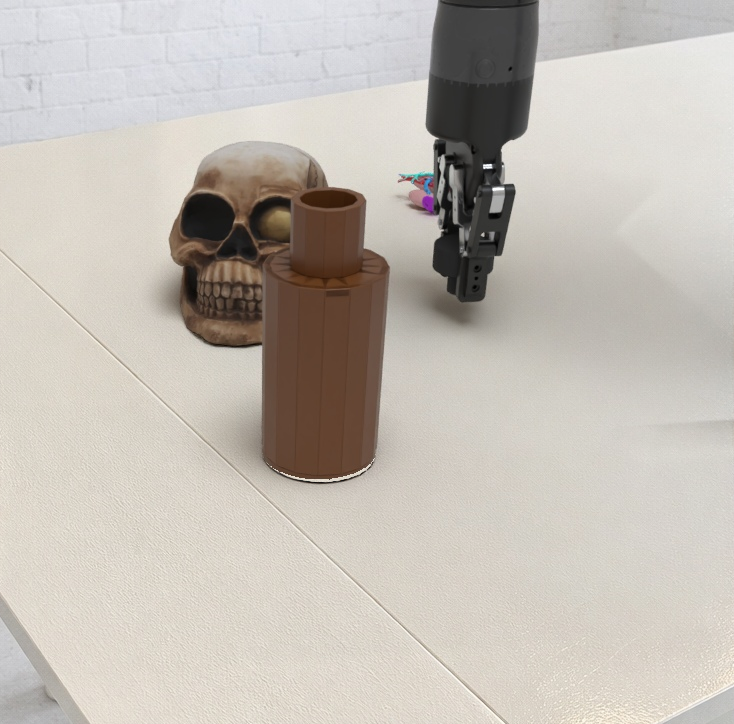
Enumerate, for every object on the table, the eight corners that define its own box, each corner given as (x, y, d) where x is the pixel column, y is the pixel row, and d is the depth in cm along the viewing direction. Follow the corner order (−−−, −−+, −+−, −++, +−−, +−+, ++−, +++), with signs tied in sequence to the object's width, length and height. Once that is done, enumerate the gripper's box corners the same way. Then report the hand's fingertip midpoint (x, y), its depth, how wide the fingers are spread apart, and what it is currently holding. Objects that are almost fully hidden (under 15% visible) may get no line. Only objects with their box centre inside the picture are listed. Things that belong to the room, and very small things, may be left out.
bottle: (362, 422, 77) (378, 175, 68) (386, 479, 71) (407, 217, 62) (255, 429, 77) (256, 181, 67) (270, 487, 71) (273, 223, 61)
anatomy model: (382, 162, 112) (446, 163, 108) (416, 143, 117) (478, 144, 114) (384, 213, 114) (447, 217, 111) (418, 193, 120) (479, 195, 116)
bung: (480, 278, 94) (485, 231, 91) (498, 300, 90) (503, 252, 87) (423, 281, 93) (427, 235, 91) (438, 304, 89) (443, 256, 87)
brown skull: (215, 352, 86) (209, 173, 80) (133, 296, 100) (123, 139, 94) (389, 321, 92) (396, 151, 86) (289, 272, 106) (289, 123, 100)
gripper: (566, 87, 76) (534, 320, 86) (501, 44, 88) (479, 253, 98) (458, 92, 76) (437, 326, 85) (407, 48, 88) (394, 258, 97)
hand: (460, 286), depth 91 cm, fingers closed on bung, 4 cm apart
